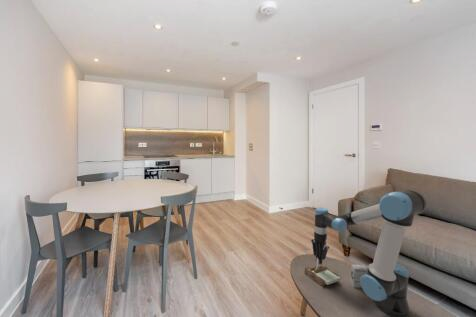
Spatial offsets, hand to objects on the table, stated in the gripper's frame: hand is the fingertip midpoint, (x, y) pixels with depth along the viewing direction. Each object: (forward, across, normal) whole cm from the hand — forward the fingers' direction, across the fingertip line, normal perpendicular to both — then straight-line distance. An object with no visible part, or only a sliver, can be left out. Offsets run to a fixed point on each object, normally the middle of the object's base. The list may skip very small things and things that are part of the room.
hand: (318, 267), depth 142 cm
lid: (+3, -6, 0) cm, 6 cm away
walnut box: (+5, -2, 0) cm, 5 cm away
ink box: (+5, -18, -15) cm, 24 cm away
